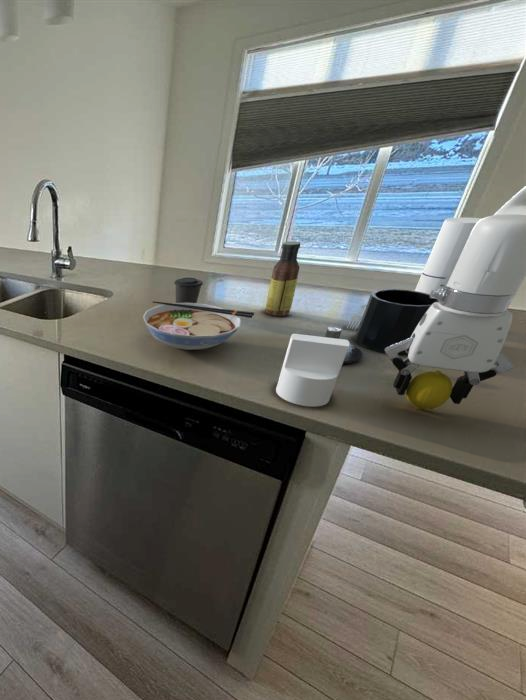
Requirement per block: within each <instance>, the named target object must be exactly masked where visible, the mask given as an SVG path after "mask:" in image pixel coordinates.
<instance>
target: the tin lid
mask: <svg viewBox="0 0 526 700" xmlns="http://www.w3.org/2000/svg"><path fill="white" fill-rule="evenodd" d="M342 330H343V329H341V328H340V327H336V326H328V327H327V328H326V332H325V335H324V337H327V338H335V339H340V336H341V334H342ZM363 354H364V353H363V351H362V350H361V349H360V348H358V347H357V346H355V345H353V344H351V343H350V344H349V348H348V350H347V353H346V356H345V359H344V361H343V364H352V363H357V362H359V361H360V360H362V358H363Z"/></svg>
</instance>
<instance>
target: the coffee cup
mask: <svg viewBox="0 0 526 700" xmlns="http://www.w3.org/2000/svg"><path fill="white" fill-rule="evenodd" d="M173 284H174V285H175V303H198V299H199V296H200V292H201V288H202V286H203V285H204V282H203V280H202V279H199V278H196V277H182V278H181V277H180V278H177V279H176V280H175V281H174V282H173Z"/></svg>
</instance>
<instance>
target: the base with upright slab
mask: <svg viewBox="0 0 526 700" xmlns="http://www.w3.org/2000/svg"><path fill="white" fill-rule="evenodd" d="M349 344H351V343H350V341H349V340H348V339H343V338H339V339H335V338H327V337H325V336H317V335H310V334H309V335H308V334H300V333H292V334H291V335H290V339H289V342H288V346H287V350H286V352H285V356H284V359H283V363H282V366H281V370H280V374H279V377H278V381H277V384H276V388H275V392H276V394H277V395H278V396H279V397H280V398H281V399H282V400H285V401H286V402H288V403H291V404H295V405H297V406H304V407H314V408H315V407H323V406H324V405H327V404H328V403H329V402H330V400H331V397H332V395H333V391H334V389H335V385H336V383H337V380H338V377H339V375H340V372H341V369H342V366H343V365H344V363H343V361H344V359H345V356H346V353H347V350H348V348H349Z"/></svg>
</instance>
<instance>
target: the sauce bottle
mask: <svg viewBox="0 0 526 700" xmlns="http://www.w3.org/2000/svg"><path fill="white" fill-rule="evenodd" d="M300 248H301V242H300V241H294V240H289V241H283V242H282V245H281V253H280V257H279V260H278V261H277V262H276V264H275V265H274V266H273V268H272V269H273V270H272V274H271V278H270V281H269V288H268V292H267V298H266V304H265V313H266V314H267V315H270V316H274V317H285V316H288V315H289V314H290V312H291V309H292V305H293V302H294V297H295V292H296V289H297V283H298V279H299V278H298V277H299V271H300V265H299V263H298V254H299V250H300Z"/></svg>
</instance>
